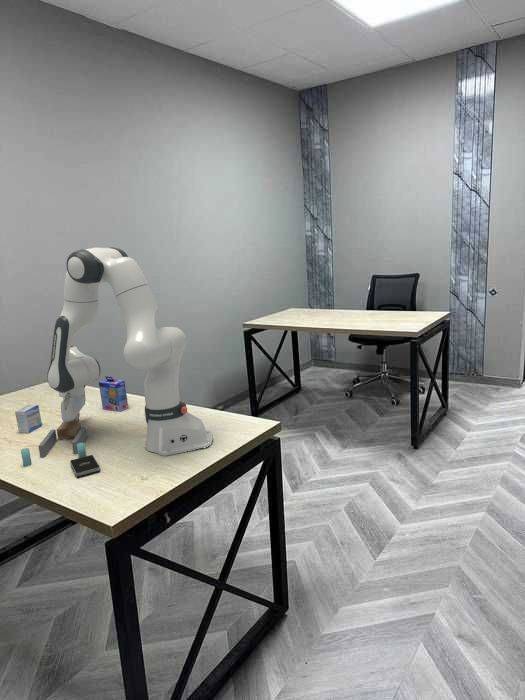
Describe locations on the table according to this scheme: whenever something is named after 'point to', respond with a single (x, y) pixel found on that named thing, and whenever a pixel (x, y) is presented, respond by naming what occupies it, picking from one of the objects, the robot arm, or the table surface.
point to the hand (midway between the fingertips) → (76, 424)
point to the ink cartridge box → (113, 394)
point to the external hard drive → (85, 466)
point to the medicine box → (28, 418)
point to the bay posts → (27, 458)
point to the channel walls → (52, 438)
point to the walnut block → (68, 430)
